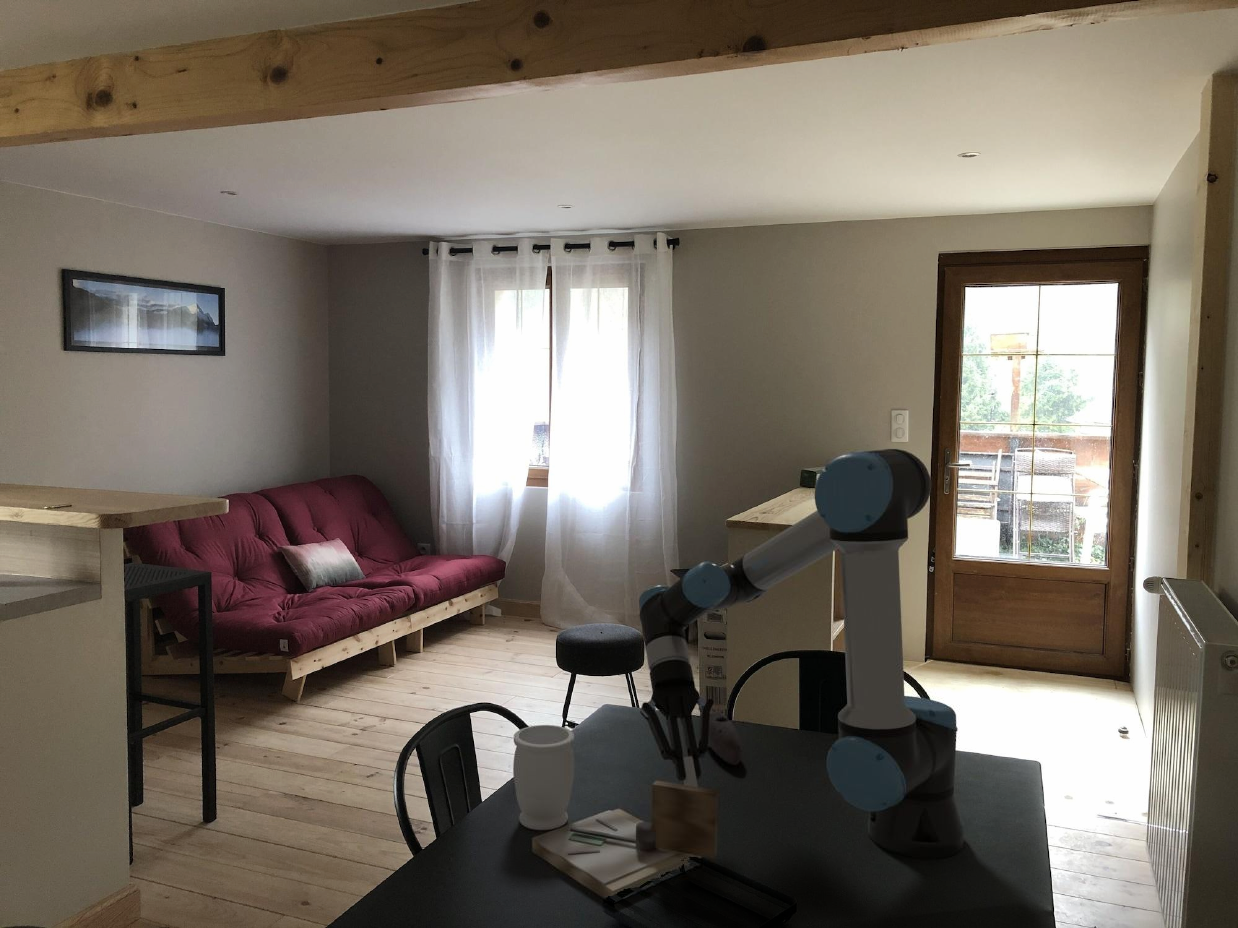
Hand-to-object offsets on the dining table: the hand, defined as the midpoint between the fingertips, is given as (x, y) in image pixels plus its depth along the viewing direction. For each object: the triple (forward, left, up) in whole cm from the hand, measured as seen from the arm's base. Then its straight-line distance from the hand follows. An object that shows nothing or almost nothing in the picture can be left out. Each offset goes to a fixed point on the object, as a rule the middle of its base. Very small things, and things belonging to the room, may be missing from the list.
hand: (693, 798), depth 155 cm
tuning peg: (+1, +10, -5) cm, 11 cm away
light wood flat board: (+4, +13, -8) cm, 15 cm away
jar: (+22, +14, -8) cm, 27 cm away
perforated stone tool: (+22, -31, -8) cm, 39 cm away
